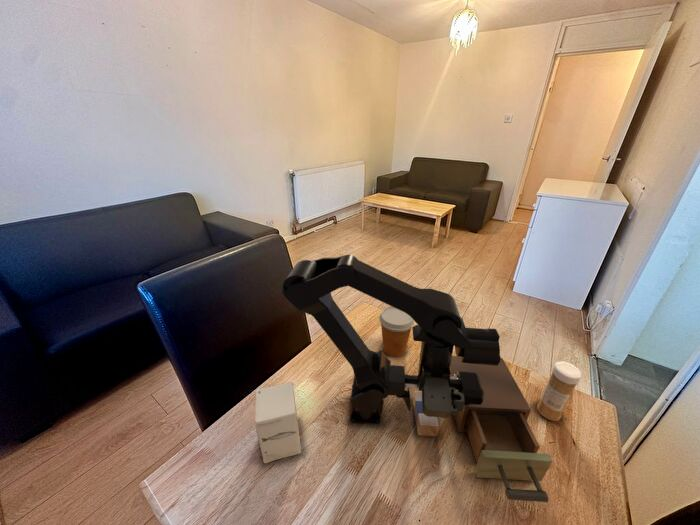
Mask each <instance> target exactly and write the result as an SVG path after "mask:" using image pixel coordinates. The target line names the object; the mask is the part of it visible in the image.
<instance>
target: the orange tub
mask: <svg viewBox="0 0 700 525" xmlns="http://www.w3.org/2000/svg"><path fill="white" fill-rule="evenodd" d="M378 319H379V323H380V327H381V328H380V329H381V337H382V338H381V339H382V349H383V352H384V353H385V354H387V355H388V356H391V357H400V356H403V355H404V354H405V353H406V350H407V346H408V342H409V339H410V335H411V331H412V327H413V326H415V323H416V322H415V321H414V320H413V319H412V318H411V317H410V316H409V315H408V314H406V313H405V312H403V311H400V310H398V309H396V308H394V307H392V306H390V305H388V306H385V307H384V308H383V309H382V310H381V311H380V314H379V316H378Z"/></svg>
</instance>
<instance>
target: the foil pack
mask: <svg viewBox="0 0 700 525" xmlns="http://www.w3.org/2000/svg"><path fill="white" fill-rule="evenodd" d="M412 405H413V412H414V420H415V425H416V432H417V436H427V437H438V434H439V431H440V422H439V417H429V416H426V415H424V413H423V411H422V391H419V390H414V391H413V397H412Z"/></svg>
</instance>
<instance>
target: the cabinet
mask: <svg viewBox="0 0 700 525" xmlns="http://www.w3.org/2000/svg"><path fill="white" fill-rule="evenodd" d="M457 371H461V372H472V373H476V374H477V375H478V376H479V379H480V382H481V385H482V388H483V391H484V400H483V403H482V404H481V405H476V404H469V405H464V409H463V411H462V412H459V411H458V416H456V415H453V417H454V420H455V424H456V428H457V430H458V432H459V433H467V430H466V427H465V422H466V418H467V415H468V411H469V409H471V410H490V411H509V412H522V413H523V415H524V417H525V419H526V420H527V421H528V418H529V416H530V414H531V412H532V409H531V407H530V405H529V403H528V401H527V400H526V398H525V396H524V394H523V392H522V391H521V389H520V387H519V385H518V384H517V382H516V380H515V378H514V376H513V374H512V373H511V371H510V369H509V367H508V365H507V364H506V362H505V360H504V358H503V357H501V359H500V362H499V364H498V365H497V366H493V365H482V364H471V363H462V362H461V357H458V356H456V355H452V359H451V364H450V372H451V373H450V377H453V376H454V375H457Z"/></svg>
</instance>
